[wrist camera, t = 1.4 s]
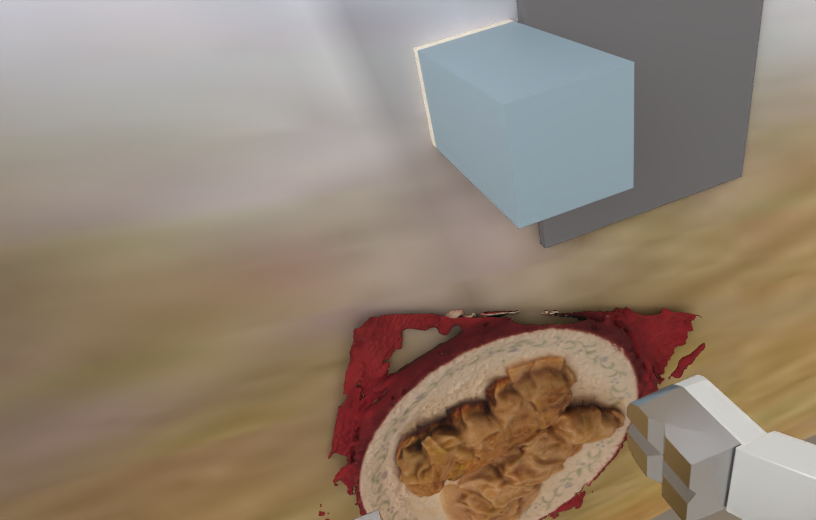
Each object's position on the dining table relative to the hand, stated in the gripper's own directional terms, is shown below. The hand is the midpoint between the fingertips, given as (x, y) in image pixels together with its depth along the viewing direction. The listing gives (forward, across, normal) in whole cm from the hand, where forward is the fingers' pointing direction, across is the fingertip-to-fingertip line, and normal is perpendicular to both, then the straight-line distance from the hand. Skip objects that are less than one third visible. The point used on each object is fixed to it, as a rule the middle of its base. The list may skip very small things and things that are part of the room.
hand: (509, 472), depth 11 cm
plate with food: (+22, -6, +27) cm, 35 cm away
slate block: (+21, -8, 0) cm, 23 cm away
